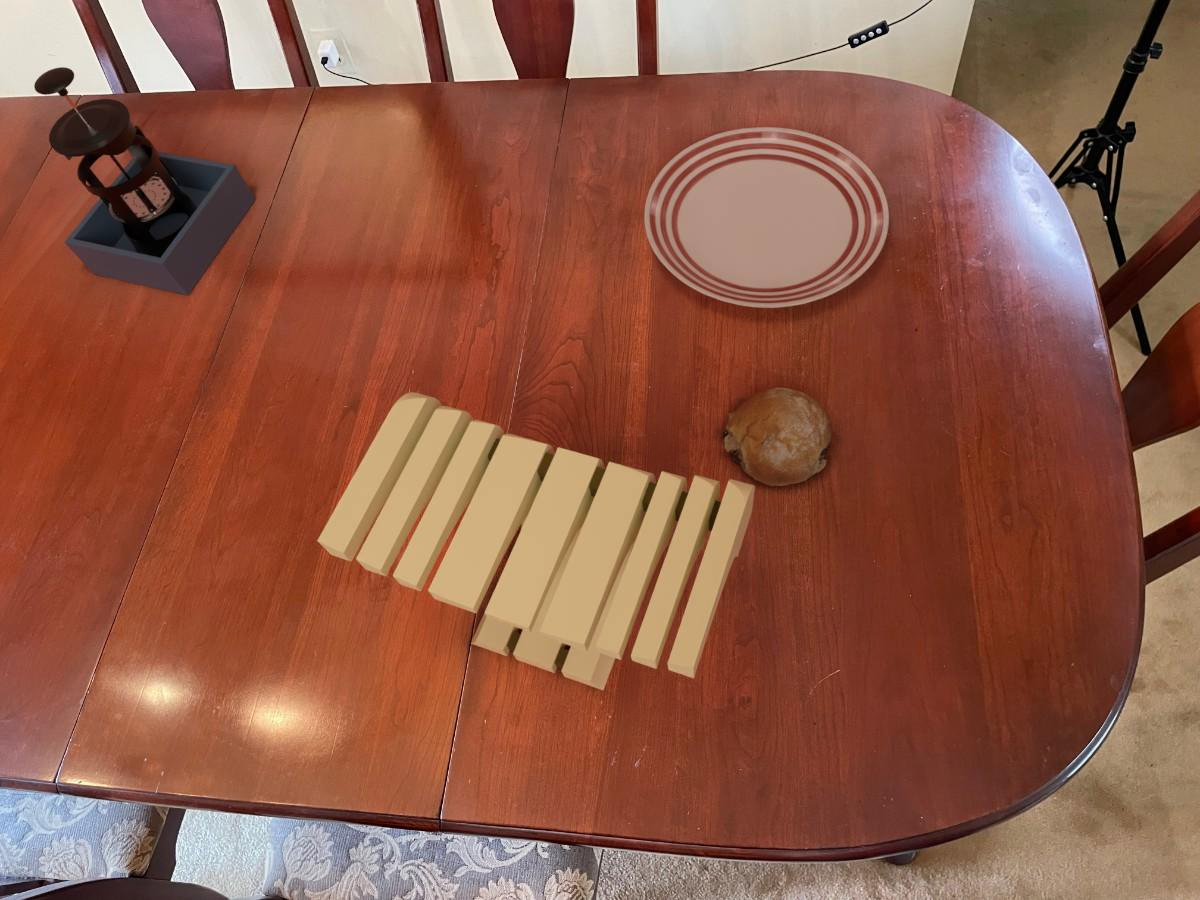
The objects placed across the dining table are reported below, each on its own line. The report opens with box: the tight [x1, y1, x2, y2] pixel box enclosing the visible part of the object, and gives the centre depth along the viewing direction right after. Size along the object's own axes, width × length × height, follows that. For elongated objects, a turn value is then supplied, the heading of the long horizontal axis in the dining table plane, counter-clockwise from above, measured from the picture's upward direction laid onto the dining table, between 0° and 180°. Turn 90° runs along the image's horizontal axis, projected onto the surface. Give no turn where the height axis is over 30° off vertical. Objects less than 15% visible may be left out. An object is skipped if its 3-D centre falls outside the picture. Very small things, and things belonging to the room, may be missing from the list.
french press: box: [33, 66, 197, 258], centre depth 98 cm, size 12×9×23 cm
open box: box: [64, 150, 256, 297], centre depth 106 cm, size 15×17×6 cm
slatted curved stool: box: [316, 391, 756, 692], centre depth 72 cm, size 30×16×18 cm, turn 69°
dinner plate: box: [643, 126, 890, 309], centre depth 97 cm, size 28×27×3 cm
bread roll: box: [721, 387, 833, 487], centre depth 83 cm, size 10×10×8 cm
